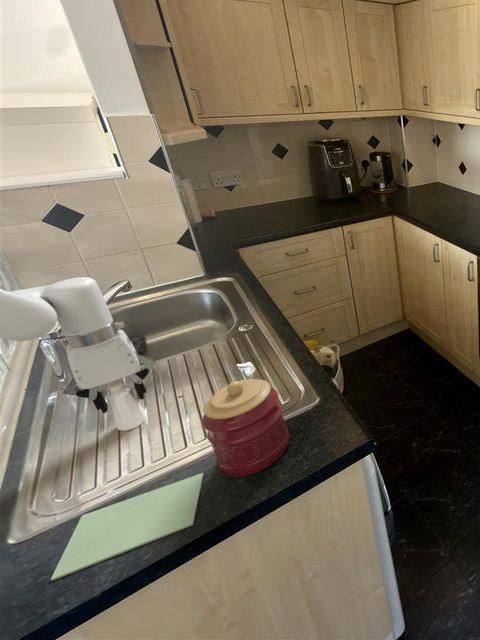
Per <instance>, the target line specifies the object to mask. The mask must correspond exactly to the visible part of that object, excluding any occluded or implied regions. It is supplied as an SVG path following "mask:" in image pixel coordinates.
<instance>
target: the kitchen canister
mask: <svg viewBox="0 0 480 640" xmlns="http://www.w3.org/2000/svg"><path fill="white" fill-rule="evenodd" d="M278 400H279V393H278V391H277V390H276V389H275V388H274V387H271V383H269V382H268V381H267V380H265V379H258V378H257V379H256V378H254V379H253V378H247V379H242V380H234V381H231V382H230V383H229V384H227V385H225V386H224V387H223V386H222V388H220V389H219V390H217V391H216V392H215V393H214V394H213V395H212V396H211V397H210V398H209V399H208V400H207V401H206V402H205V404H204V407H203V416H202V420H201V425H202V427H203V428H204V429H205V430H206V431H207V432H206V439H207V440H208V442H209V443H210V444H211V448H212V450H213V453H214V455H215V461H216V463H217V466H218V468H219V469H220V470H221V471H222V472H223V474H225V475H226V476H229V477H236V478H237V477H245V476H250V475H253V474H256V473H259V472H260V471H262V470H264V469H266V468H267V467H269V466H271V465H273V464H274V463H275V462H276V461H278V460H279V458H281V456H283V454H284V453H285V452H286V450H288V449H287V448H288V447H289V445H290V444H289V443H290V431H289V428H288V426H287V423H286V420H285V418H284V415H283V414H284V413H283V406H282V405H281V403H280V402H279V401H278Z"/></svg>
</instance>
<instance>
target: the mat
mask: <svg viewBox="0 0 480 640" xmlns="http://www.w3.org/2000/svg"><path fill="white" fill-rule="evenodd" d="M204 476H205V472H201V473H198V474H196V475H193V476H192V475H191V476H190V477H186V478H184V479H182V480H178V481H176V482H173V483H170V484H168V485H164V486H160V487H159V488H155V489H153V490H150V491H147V492H145V493H141V494H138V495H136V496H133V497H131V498H128V499H124V500H122V501H119V502H116V503H113V504H109V505H108V506H104V507H102V508H99V509H96V510H93V511H90V512H88V513H85V514H83V515H81V516H80V518H79V521H78V522H77V524H76V527H75V528H74V531H73V533H72V535H71V537H70V539H69V540H68V542H67V545H66V547H65V548H64V551H63V553H62V555H61V557H60V559H59V561H58V563H57V565H56V567H55V569H54V572H53V574H52V576H51V577H50V581H51V582H53V581H56V580H57V579H60V578H63V577H66V576H68V575H71V574H73V573H75V572H78V571H81V570H83V569H86V568H88V567H91V566H93V565H96V564H98V563H101V562H104V561H106V560H108V559H111V558H113V557H117V556H119V555H122V554H125V553H126V552H129V551H131V550H134V549H136V548H140V547H141V546H144V545H147V544H149V543H151V542H154V541H157V540H159V539H162V538H164V537H166V536H170V535H172V534H175V533H177V532H179V531H182V530H184V529H187V528H190V527H192V526H194V524H195V519H196V513H197V510H198V504H199V499H200V494H201V489H202V485H203V481H204Z"/></svg>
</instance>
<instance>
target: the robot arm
mask: <svg viewBox="0 0 480 640" xmlns="http://www.w3.org/2000/svg"><path fill="white" fill-rule="evenodd" d="M57 323H58V325H59V327H60V329H61V331H62V333H63V336H64V338H65V340H66V341H67V343H68V344H67V345H66V346H65V350H66V356H67V360H68V364H69V367H70V370H71V372H72V376H71V377H70V379H69V381H68V382H67V383H66V385H65V386H64V387H63V389H62V394H63V395H68V396H76V397H78V398H84V399H88V400H90V401H92V402H93V404H94V406H95V409H96V410H97V411H99V410H101V413H102V414H105V413H107V412H109V411H108V408H109V405H108V403H107V400H106V399H105V396H104V394H103V393H102V391H99V390H98V387H100V386H103V385H106V384H108V383H109V384H110V383H111V382H112V383H113V382H116V381H119V380H120V379H123V378H129V379H130V380H131V381H133V387H134V389H135V392H136V394H137V396H138V400H144V399H145V394H146V393H148V392H147V388H146V385H145V383H144V380H145V378H146V377H147V376H148V374H149V373H150V371H151V370H152V369H153V367H154V366H155V365H156V363H157V362H156V359H155V358H151V357H147V356H145V355H141V354H138V352H137V350H136V348H135V346H134V345H133V342H132V341H131V339H130V338H129V336H128V335H127V333H126V332H125V331H124V330H123V328H125V327H126V323H125V321H124V320H122V321H119V320H118V321H116V320H115V319H114V318H113V317H112V314H111V312H110V308H109V307H108V305H107V302H106V300H105V298H104V295H103V293H102V291H101V288H100V286H99V284H98V282H97V281H96V280H95V279H94V278H92V277H88V276H80V277H72V278H67V279H62V280H60V281H56V282H54V283H53V284H52V283H51V284H49V285H43V286H36V287H30V288H23V289H22V288H21V289H17V290H11V291H7V290H4V289H1V288H0V339H2V340H8V341H13V342H29V341H33V340H36V339H39V338H42V337H44V336H46V335H47V334H49V333H50V332H51V331H52V330H53V329H54V328H55V326H56V324H57ZM141 364H142V365H144V366H143V367H142V368H141ZM76 386H78V387H76Z"/></svg>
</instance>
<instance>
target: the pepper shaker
mask: <svg viewBox="0 0 480 640" xmlns="http://www.w3.org/2000/svg"><path fill="white" fill-rule="evenodd" d="M106 388H107V390H108V391H109V393H110V395H109V397H108V398H109V403H110V407H111V410H112V414H113V417H114V421H115V424H116V425H115V426H116V428H117V431H123V432H126V431H130V430H132V429H136V428H138V427H140V426H141V425H142V424H144V423H145V422H146V421H147V420H148V413H147V412H146V411H145V409H144V407H143V405H142V403H140V401H139V399H138V398H137V397H136V394H135V393H134V392H133V390H132V389H131V388H127V386H126V383H125V381H124V380H116V381H113V382H112V383H109V385H108V386H107V387H106Z"/></svg>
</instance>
